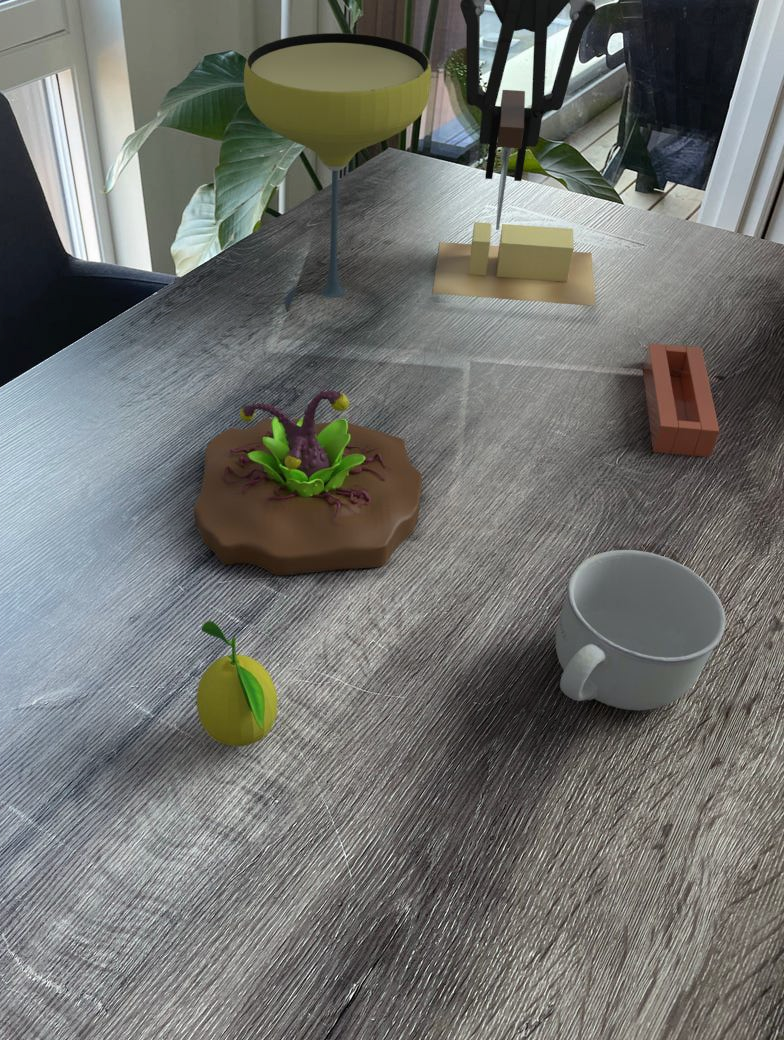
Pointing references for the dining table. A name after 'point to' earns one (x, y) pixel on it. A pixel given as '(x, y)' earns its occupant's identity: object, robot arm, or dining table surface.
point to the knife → (509, 134)
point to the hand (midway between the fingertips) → (503, 174)
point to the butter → (535, 252)
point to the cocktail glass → (336, 100)
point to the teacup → (635, 630)
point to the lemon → (235, 697)
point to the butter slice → (480, 248)
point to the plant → (306, 493)
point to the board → (510, 279)
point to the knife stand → (679, 400)
